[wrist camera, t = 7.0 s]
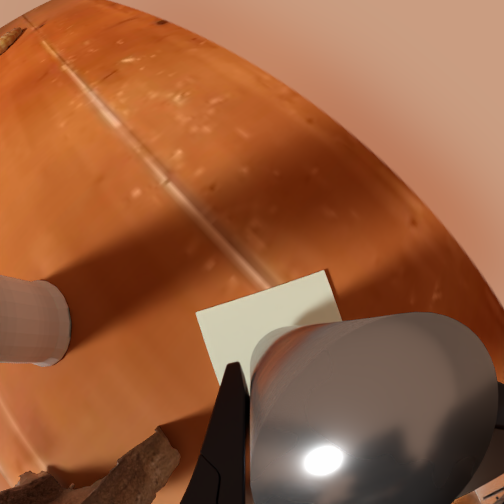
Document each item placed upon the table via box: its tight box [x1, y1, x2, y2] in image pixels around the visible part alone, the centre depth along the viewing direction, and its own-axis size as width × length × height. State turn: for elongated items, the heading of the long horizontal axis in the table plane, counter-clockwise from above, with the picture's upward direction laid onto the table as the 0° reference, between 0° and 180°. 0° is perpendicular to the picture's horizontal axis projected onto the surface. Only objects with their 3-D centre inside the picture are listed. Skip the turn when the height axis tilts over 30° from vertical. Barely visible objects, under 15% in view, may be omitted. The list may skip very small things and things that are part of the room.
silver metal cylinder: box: [250, 312, 498, 504], centre depth 9 cm, size 4×4×12 cm
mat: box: [196, 270, 342, 395], centre depth 18 cm, size 9×9×1 cm
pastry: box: [0, 27, 22, 55], centre depth 30 cm, size 9×7×4 cm
